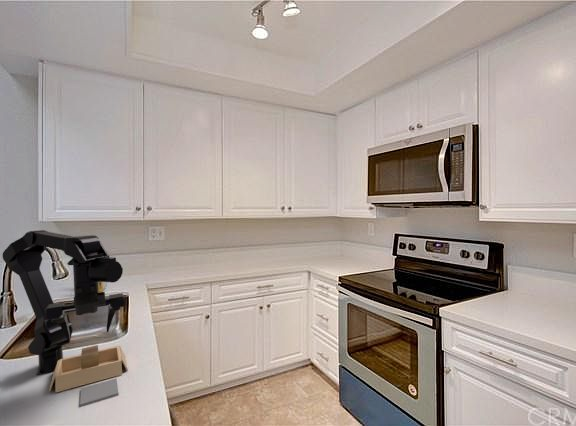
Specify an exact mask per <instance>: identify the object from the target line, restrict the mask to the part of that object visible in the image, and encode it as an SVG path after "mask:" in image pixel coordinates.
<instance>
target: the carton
mask: <svg viewBox="0 0 576 426" xmlns="http://www.w3.org/2000/svg"><path fill="white" fill-rule="evenodd" d="M98 357H99V365H98V366H94V367H90V368H86V369H82V370H81V354H76V355H72V356H69V357H63V359H60V361H59V360H58V362H57V365H56V367H55V370H54V371H53V372H52V378H51V382H50V386H49V390H48V392H51V390H52V388H53V384H54V383H55V385H54V388H55V393H59V392H62V391H66V390H70V389H73V388H77V387H80V386H83V385H84V386H85V385H88V384H91V383H95V382H98V381H102V380H105V379H111V378H114V377H117V376H121V375H123V369H122V368H123V366H124V368H125V370H126V371H128V370H129V368H128V364H127V360H126V355H125V353H124V351H123V349H122V347H121V345H116V346H112V347H107V348H102V349H98ZM58 364H59V365H58ZM122 365H123V366H122ZM57 368H58V369H57Z"/></svg>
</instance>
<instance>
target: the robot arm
mask: <svg viewBox="0 0 576 426" xmlns="http://www.w3.org/2000/svg"><path fill="white" fill-rule="evenodd" d="M47 248H49V249H50V248H51V249H55V250H59V251H61V252H63V253H64V255H65V256H68V257H71V259H70V260H69V261H67V266H72V269H73V272H72V273H73V290H74V293H73V294H74V295H73V303H72V304H66V305H65V302H64V301H61V302H57V303H55V302H54V301H53V299H52V296H51V293H50V290H49V288H48V286H47V283H46V282H45V278H44V276H43V274H42V271H41V265H42V261H43V256H42V254H43V253H45V251H46V250H47ZM2 260H3V261H4V262H5V264H6V266H7V269H8V270H10V271H11V272H13V273H14V274H16V275H18V276H19V279H20V281H21V283H22V286H23V288H24V291H25V294H26V297H27V299H28V301H29V303H30V306H31V307H32V308H31V309H32V311H33V313H34V315H35V318H36V322H35V325H34V329H33V333H34V337H33V340H32V341H31V342H30V344H29V345H28V346H27V349H28V353H29V354H30V355H36V356H38V367H37V370H36V373H35V375H36V376H40V375H44V374H48V373H51V372H52V373H54V370H55V367H56V365H57V362H58V360H59V361H60V359H63V358H64V355H63V354H64V353H63V352H64V351H63V346H66V345H67V344H69V343H71V339H72V334H73V324H72V322H71V320H70V317H69V315H68V314H67V313H70V312H75V315H76V316H83V315H86V314H94V313H96V312H98V308H99V307H107V317H106V333H109V332H110V329H111V324H112V321H113V318H114V316H115V314H116V312H117V311H121V308H123V307H126V297H125V294H124V293H123V292H121V293H115V294H109V295H108V298H106V292H105V291H103V292H99V288H98V282H107V283H116V282H118V281H119V280H120V279H121V278H122V276H123V270H124V269H123V267H122V264H121V263H120V262H119V261H117V258H116V256H110V254H109V253H108V250H106V249H105V247H104V245H103V244H102V242H101V240H100V239H99V236H98V235H93V234H91V235H75V236H74V235H73V236H72V235H69V234H68V235H67V234H63V233H57V232H51V231H48V230H44V229H43V230H42V229H41V230H40V229H39V230H30V231H28V232H25V234H24V235H23V236H22V237H19V238H18V239H16V240H14V241H12V242H11V243H9V245H8V246H7V247H6V248H5V250H3V251H2ZM58 365H59V364H58ZM57 369H58V368H57Z"/></svg>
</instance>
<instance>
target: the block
mask: <svg viewBox="0 0 576 426" xmlns="http://www.w3.org/2000/svg"><path fill="white" fill-rule="evenodd" d="M98 350H99V345H98V344H95V345H91V346H87V347H83V348H81V370H82V369H86V368H90V367H94V366H98V365H99V357H98Z"/></svg>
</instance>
